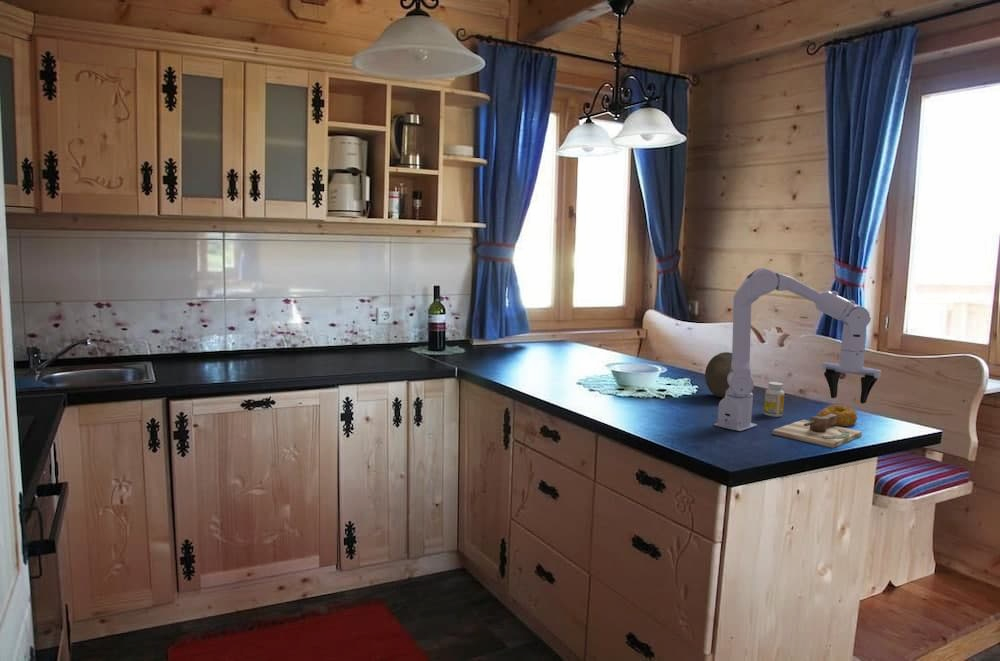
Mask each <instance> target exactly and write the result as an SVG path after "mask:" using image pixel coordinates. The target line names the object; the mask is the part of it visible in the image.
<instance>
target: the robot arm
mask: <svg viewBox="0 0 1000 661" xmlns="http://www.w3.org/2000/svg"><path fill="white" fill-rule="evenodd" d="M773 291H779V292H783V291H785V292H786V291H789V292H791V293H792V294H795V295H797V296H799V297H802V298H804V299H806V300H808V301H810V302H813V303H814V305H815V309H816V310H817V311H818V312H821V313H823V314H826V315H828V316H829V317H831V318H833V319H835V320H837V321H842V322H843V326H842V333H841V346H840V354H839V356H840V357H839V363H835V362H826V361H825V362H822V364H821V370H822V371H824V372H823V376H824V377H825V380H826V382H827V385H828V389H829V394H830V399H835V398H837V396H838V384H839V380H840V376H841V373H843V374H844V373H845V374H850V375H856V376H857V375H858V376H862V377H860V383H861V384H860V385H861V386H860V387H861V390H860V392H861V393H860V400H859V402H860V404H866V403H867V400H868V397H869V394H870V392H871V391H872V388H873V386H874V385H875V384H876V382H877V381H878V379H879V378H881V377H882V370H881V369H876V368H871V367H868V366H867V367H866V366H864V362H865V350H866V341H867V340H866V339H867V326H868V325H869V324H870V323H871V321H872V320H871V318H872V317H871V316H870V312H869V310H868V309H867V308H865V307H864V306H861V305H859V304H856V302H855V300H853V299H850V300H848V299H847V298H844V297H842V296H840V295H839V292H837V291H836V290H832V291H830V290H826V291H825V290H824V291H822V292H820V291H818V290H816V289H815V288H813V287H811V286H808V285H807V284H805V283H803V282H801V281H799V280H797V279H795V278H793V277H792V276H790V275H786V274H782V273H779V272H775V271H773V270H770V269H767V268H757V269H755V270H753V271H752V272H750V273H749V274H748V275H747V276H746V277H745V279H744V281H743V282H742V283H741V285H740V286H739V287H738V289H737V291H735V293H734V294H733V306H732V307H733V310H732V311H733V312H732V342H731V343H732V346H731V348H732V351H731V353H732V362H731V370H730V372H729V374H728V376H727V382H728V384H729V386H730V387H729V388H728V389H727V390H726V394H725V397H724V398H722V399H720V401H719V403H718V408H717V422H716V423H714V424H713V425H714V426H715V427H719V428H720V427H721V428H723V429H724V428H725V429H729V430H733V431H737V432H742V431H745V430H749V429H752V428H755V427H757V426H758V424H757V423H752V410H753V397H754V396H753V395H754V393H753V392H752V391H753V389H754V387H755V384H754V379H753V377H751V360H750V359H751V328H752V327H751V326H752V324H751V323H752V305H753V304H754V302H756V301H757V300H758V299H759V298H761V297H762V296H765V295H767V294H770V293H772V292H773Z"/></svg>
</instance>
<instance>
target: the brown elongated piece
mask: <svg viewBox="0 0 1000 661" xmlns="http://www.w3.org/2000/svg"><path fill="white" fill-rule="evenodd" d="M837 417H838V415H835V414H829V415H826V416H823V417H820V416H817V415H811V416H810V418H809V421H810V422H808V423H805V424H804V426H809V425H810V430H813V431H819V432H824V431H826V427H829V426H831V425H832V426H835V425H834V424H837Z"/></svg>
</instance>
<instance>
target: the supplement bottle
mask: <svg viewBox="0 0 1000 661" xmlns="http://www.w3.org/2000/svg"><path fill="white" fill-rule="evenodd" d="M783 385H784V383H782V382H779V381H778V382H777V381H769V382H768V385H767V387H768V389H767V388H766V390H765V392H764V405H763V415H765V416H768V417H774V418H776V417H777V418H778V417H782V416H784V415H783V413H784V404H785V403H784V402H785V391H784V390H782V389H783V387H784V386H783Z"/></svg>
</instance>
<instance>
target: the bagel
mask: <svg viewBox="0 0 1000 661" xmlns="http://www.w3.org/2000/svg"><path fill="white" fill-rule="evenodd" d="M829 414H835V415H838V417H837V424H834V425H833V426H837V427H849V426H853V425H855V424H856V423H857V421H858V420H857V419H858V415H857V413H856V411H855V410H854V409H852V408H851V407H849V406H847V405H843V404H830V405H828V406H826V407H825V408H823V409H821V410H819V412H818V413H817V415H816V416H820V417H823V416H826V415H829Z"/></svg>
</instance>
